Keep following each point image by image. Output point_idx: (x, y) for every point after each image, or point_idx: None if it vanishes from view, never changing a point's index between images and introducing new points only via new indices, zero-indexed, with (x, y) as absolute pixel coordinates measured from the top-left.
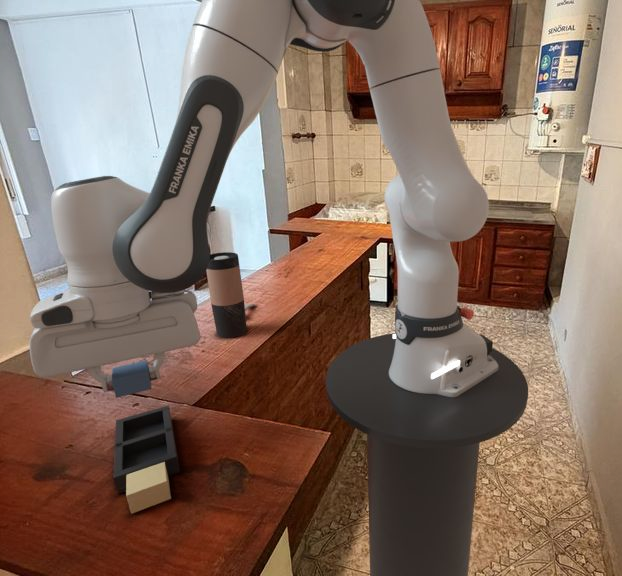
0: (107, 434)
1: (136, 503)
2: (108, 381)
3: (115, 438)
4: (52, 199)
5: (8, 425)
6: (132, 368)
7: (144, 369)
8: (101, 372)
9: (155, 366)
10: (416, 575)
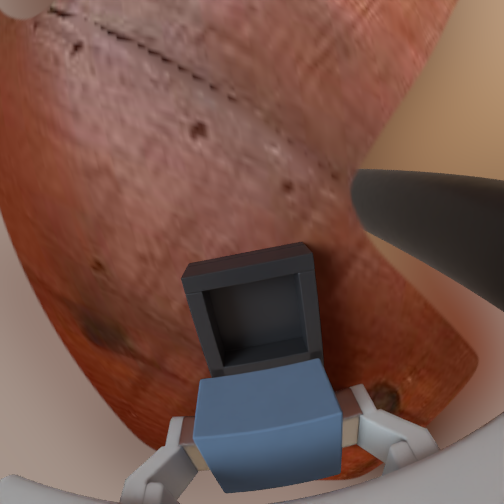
0: (159, 250)
1: None
2: (203, 469)
3: (203, 351)
4: None
5: None
6: (284, 458)
7: (330, 466)
8: (168, 470)
9: (368, 449)
10: (427, 264)
